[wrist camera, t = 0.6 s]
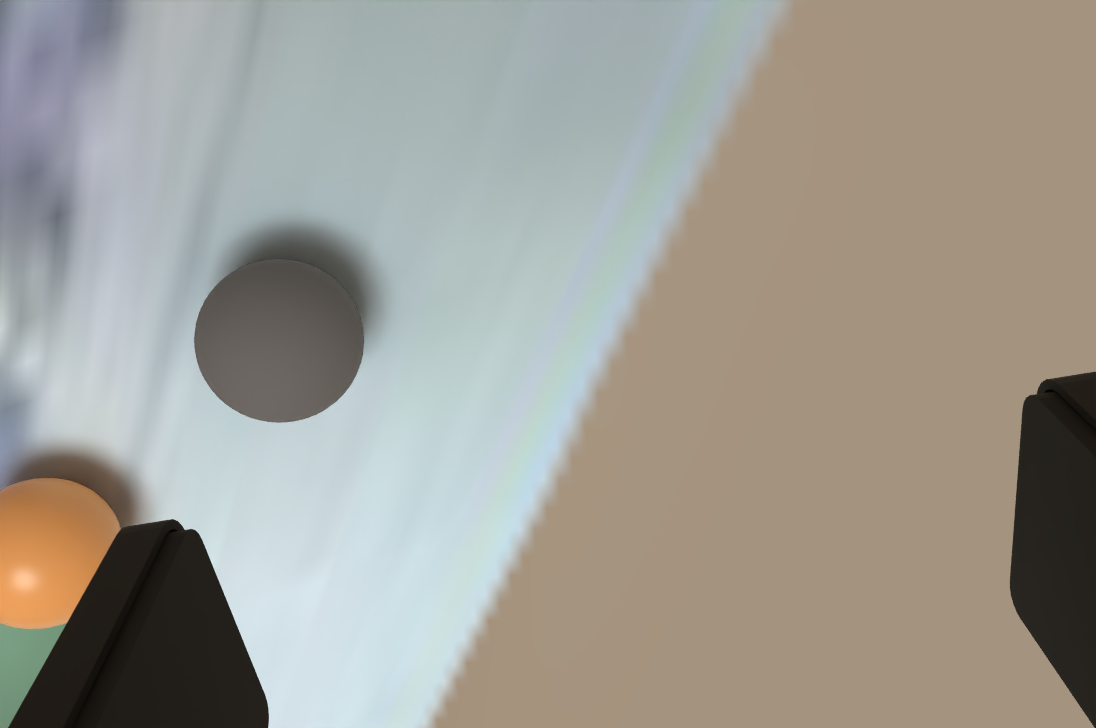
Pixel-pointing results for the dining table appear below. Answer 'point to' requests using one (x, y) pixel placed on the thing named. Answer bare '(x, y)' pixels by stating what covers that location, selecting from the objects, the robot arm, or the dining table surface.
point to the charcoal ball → (279, 340)
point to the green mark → (21, 664)
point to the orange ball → (49, 549)
